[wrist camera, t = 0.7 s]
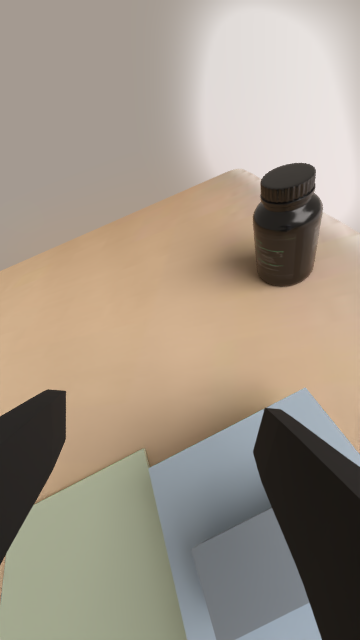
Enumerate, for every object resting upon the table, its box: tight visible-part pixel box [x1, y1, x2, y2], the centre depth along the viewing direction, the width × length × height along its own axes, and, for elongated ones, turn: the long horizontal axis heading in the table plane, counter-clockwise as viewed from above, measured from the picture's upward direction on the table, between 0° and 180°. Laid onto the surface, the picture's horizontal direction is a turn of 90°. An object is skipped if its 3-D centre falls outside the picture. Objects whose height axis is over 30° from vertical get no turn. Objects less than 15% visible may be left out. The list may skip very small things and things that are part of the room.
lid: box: [148, 388, 360, 640], centre depth 12 cm, size 12×12×5 cm
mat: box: [0, 448, 187, 640], centre depth 18 cm, size 15×15×1 cm
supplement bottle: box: [253, 163, 323, 286], centre depth 26 cm, size 7×7×12 cm
